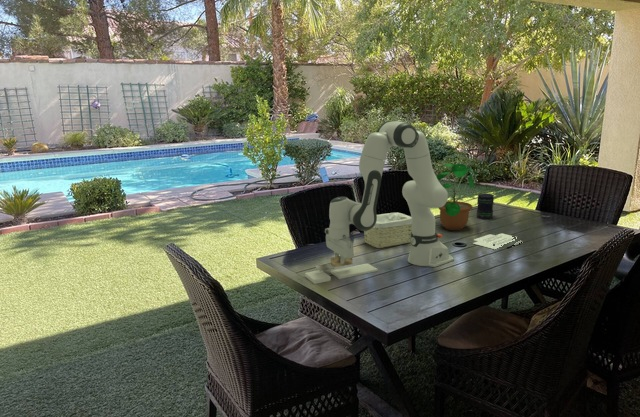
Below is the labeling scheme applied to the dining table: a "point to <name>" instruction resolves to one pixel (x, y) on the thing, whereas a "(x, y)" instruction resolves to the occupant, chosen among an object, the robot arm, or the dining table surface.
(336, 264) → the wooden handled scraper
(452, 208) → the potted plant
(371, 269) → the tool rest
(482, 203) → the storage jar
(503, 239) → the paper stack
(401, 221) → the storage basket
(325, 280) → the tile
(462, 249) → the dining table surface
